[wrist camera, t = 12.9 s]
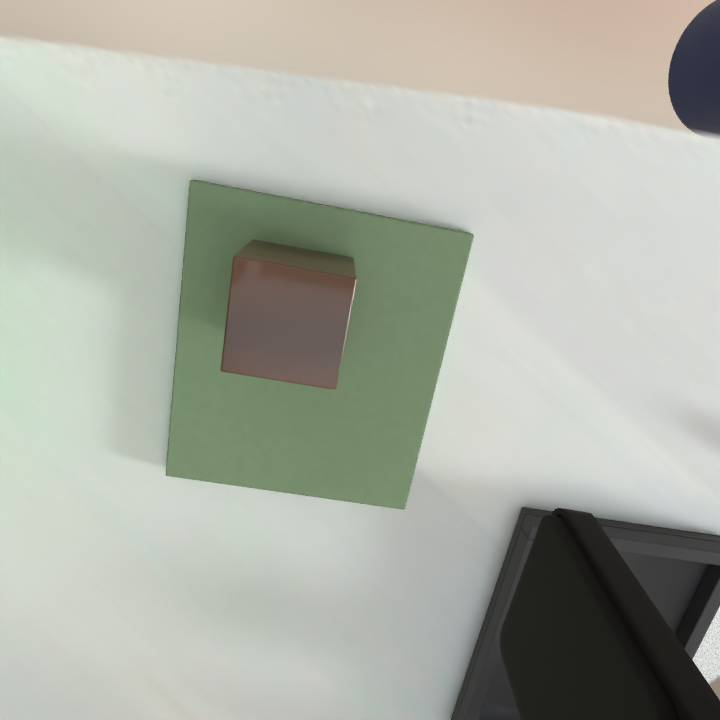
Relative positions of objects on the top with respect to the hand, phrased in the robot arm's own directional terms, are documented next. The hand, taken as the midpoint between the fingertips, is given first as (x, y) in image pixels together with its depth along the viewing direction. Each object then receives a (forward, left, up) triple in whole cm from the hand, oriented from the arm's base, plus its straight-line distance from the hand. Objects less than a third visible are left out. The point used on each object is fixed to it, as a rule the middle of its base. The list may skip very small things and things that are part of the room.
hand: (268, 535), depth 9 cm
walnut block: (0, -1, -16) cm, 16 cm away
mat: (+3, 0, -17) cm, 17 cm away
